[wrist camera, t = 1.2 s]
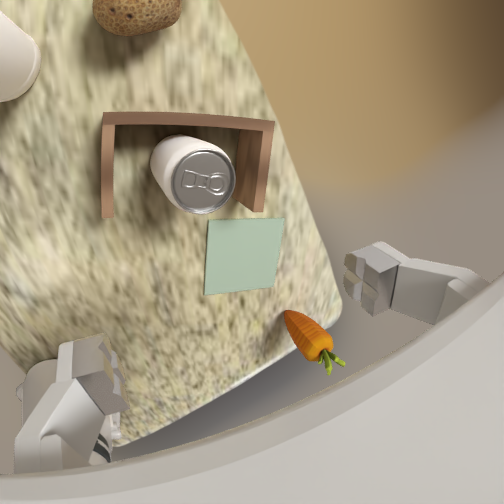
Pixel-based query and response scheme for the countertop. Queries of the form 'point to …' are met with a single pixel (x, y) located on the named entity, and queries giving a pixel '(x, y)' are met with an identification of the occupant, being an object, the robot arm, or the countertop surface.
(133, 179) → the countertop surface
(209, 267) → the mat
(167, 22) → the natural sponge
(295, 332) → the carrot
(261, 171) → the brown wooden u-shaped frame
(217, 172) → the can
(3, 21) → the bottle
